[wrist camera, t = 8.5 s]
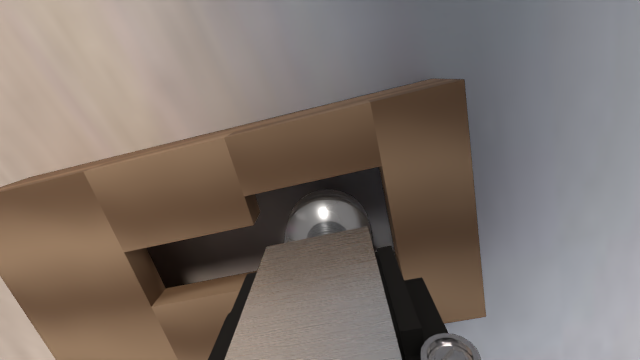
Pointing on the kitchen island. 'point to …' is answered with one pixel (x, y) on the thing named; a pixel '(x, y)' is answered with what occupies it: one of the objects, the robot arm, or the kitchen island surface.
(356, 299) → the steel peg
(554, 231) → the kitchen island surface
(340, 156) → the keyhole plate
